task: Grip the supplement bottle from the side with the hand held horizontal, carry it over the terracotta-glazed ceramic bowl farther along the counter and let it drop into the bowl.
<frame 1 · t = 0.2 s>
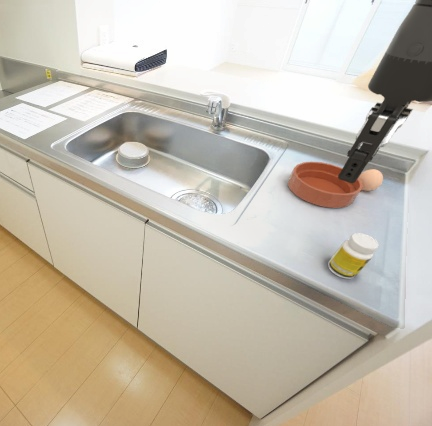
hand: (354, 169, 44), 22 cm above the counter, tool pointing down, fingers open, 8 cm apart
egg: (362, 189, 75), on the counter
supplement bottle: (340, 270, 56), on the counter
bowl: (318, 191, 75), on the counter
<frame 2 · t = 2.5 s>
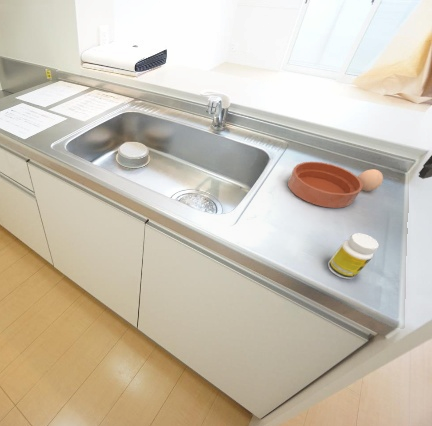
nothing on the counter moved.
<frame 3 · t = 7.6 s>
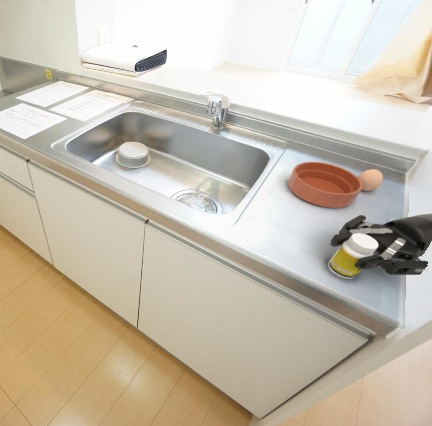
hand: (345, 252, 51), 6 cm above the counter, tool horizontal, fingers closed on supplement bottle, 4 cm apart
supplement bottle: (340, 270, 56), on the counter, touching gripper
everything else where it was.
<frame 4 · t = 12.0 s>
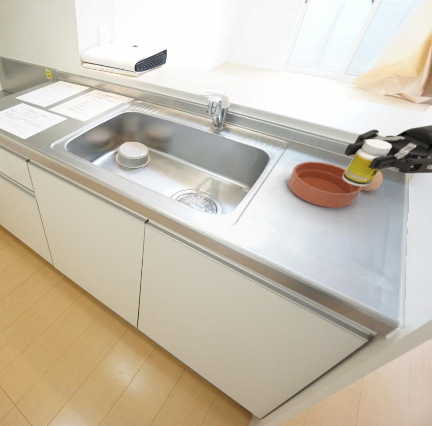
hand: (360, 156, 54), 18 cm above the counter, tool horizontal, fingers closed on supplement bottle, 4 cm apart
supplement bottle: (354, 181, 58), point 12 cm above the counter, touching gripper
everything else where it was.
when the fingers open (9 cm above the counter, at t = 16.4 s): supplement bottle drops 2 cm, resting on bowl.
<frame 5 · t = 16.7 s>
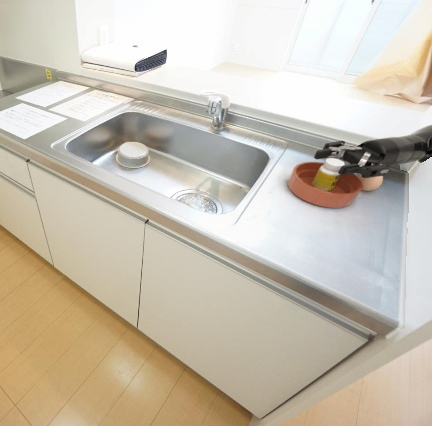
hand: (328, 162, 69), 9 cm above the counter, tool horizontal, fingers open, 7 cm apart
supplement bottle: (320, 190, 75), resting on bowl
everything else where it was.
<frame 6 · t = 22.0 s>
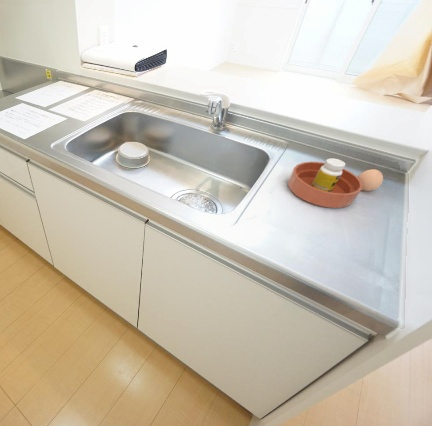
nothing on the counter moved.
at the end: supplement bottle inside the target area in the bowl (0.1 cm from its centre), point 0.3 cm above the bowl's base; the gripper is holding nothing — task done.
